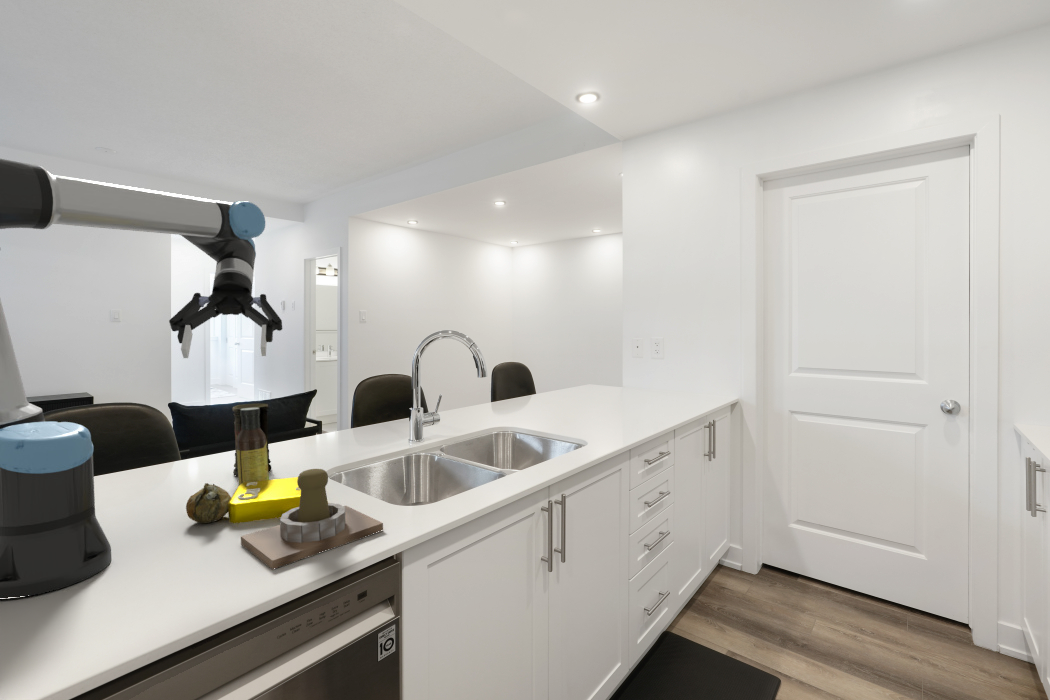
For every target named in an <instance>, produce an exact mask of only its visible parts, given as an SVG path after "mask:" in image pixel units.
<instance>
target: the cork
mask: <svg viewBox="0 0 1050 700" xmlns="http://www.w3.org/2000/svg"><path fill="white" fill-rule="evenodd" d="M297 477H298V480H297V483H298V487H299V488H300V489H301V496H300V505H299V514H298V522H301V523H306V522H315V521H320V520H324V519H327V518H330V513H329V507H328V503H329V502H328V496H327V490H326V486H327V485H328V482H329V475H328V473H327V471H326V470H325V469H323V468H311V469H305V470H303V471H302V472H300V473H299V474H298V476H297Z"/></svg>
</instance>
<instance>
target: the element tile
mask: <svg viewBox="0 0 1050 700" xmlns="http://www.w3.org/2000/svg"><path fill="white" fill-rule="evenodd" d="M297 480H298V476H296V477H295V476H294V477H286V478H285V477H284V478H275V479H274V478H273V479H269V480H264V481H255V482H246V483H242V484H241V485H239V484H238V486H237V488H235V490H234V493H233V494H232V496H230V497H231V499H230V501H229V502H228V513H227V515H228V523H230V524H242V523H243V524H244V523H249V522H250V523H251V522H259V521H265V520H274V519H281V516H282V514H284V513H285V512H287V511H289V510H291V509H293V508H296V507H299V505H300V496H301V489H300V488H299V487H298V483H297Z"/></svg>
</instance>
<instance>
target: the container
mask: <svg viewBox="0 0 1050 700" xmlns="http://www.w3.org/2000/svg"><path fill="white" fill-rule="evenodd" d="M244 408H260V415H259V419H260V428H261V430H262V431H263V432H264V434H265V436H266V440H267V455H268V472H269V471H270V470H272V465H271V462H272V461H271V459H270V450H269V428H268V427H269V425H268V422H269V420H268V409H269V404H268V403H246V404H237V405H234V406H233V407H232V412H234V413H233V415H234V422H233V423H234V439H235V440H234V442H235V444H234V445H235V448H234V449H235V452H234V459H235V460H234V464H233V467H234V469H233V471H232V472H233V475H234V476H235V475H236V476H235V477H238V465H237V437H238V435H239V433H240V432H241V430H242V428H241V426H242V421H241V416H240V410H241V409H244ZM270 472H271V471H270ZM270 472H269V473H270Z"/></svg>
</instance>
